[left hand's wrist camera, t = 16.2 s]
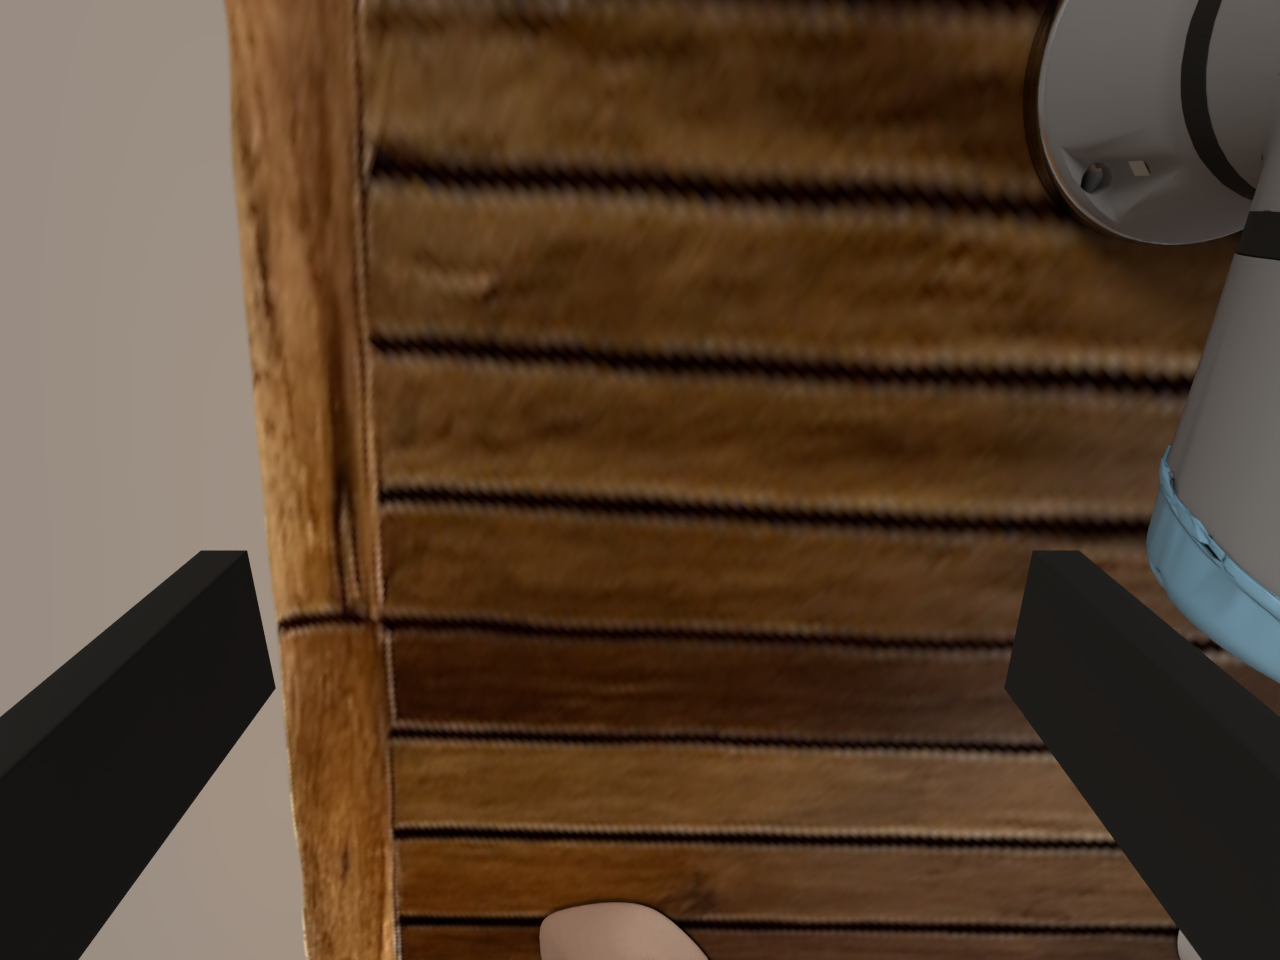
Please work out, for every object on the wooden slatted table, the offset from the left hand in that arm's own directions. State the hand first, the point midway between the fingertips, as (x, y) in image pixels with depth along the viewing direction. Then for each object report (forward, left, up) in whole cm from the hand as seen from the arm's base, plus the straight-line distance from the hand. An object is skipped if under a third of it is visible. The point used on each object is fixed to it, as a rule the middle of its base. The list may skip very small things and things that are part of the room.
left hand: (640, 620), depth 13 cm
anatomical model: (+1, +47, -29) cm, 55 cm away
